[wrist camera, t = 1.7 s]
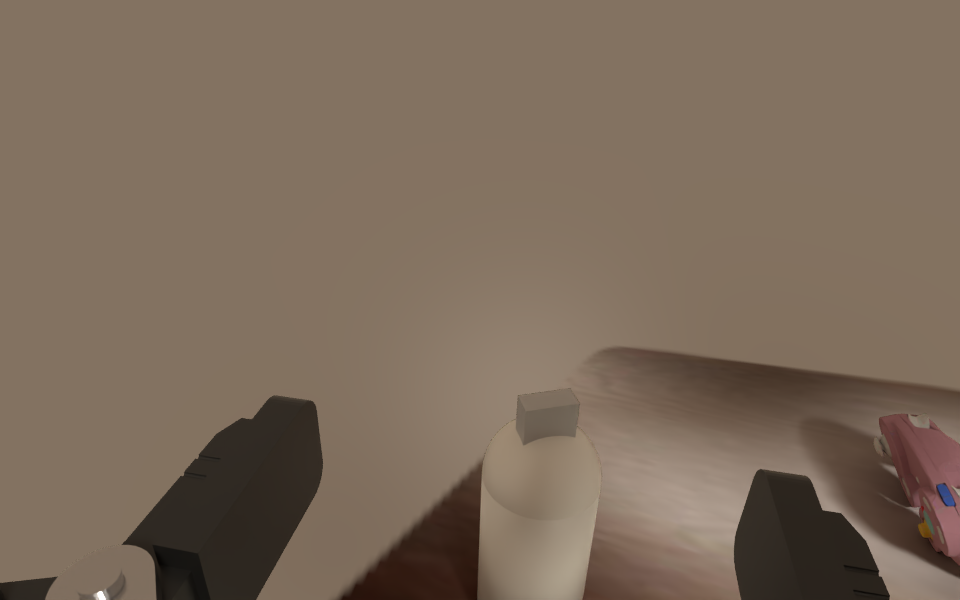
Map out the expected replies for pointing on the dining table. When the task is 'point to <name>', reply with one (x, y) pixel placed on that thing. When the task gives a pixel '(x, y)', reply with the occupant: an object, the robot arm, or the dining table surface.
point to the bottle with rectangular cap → (538, 503)
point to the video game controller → (926, 475)
